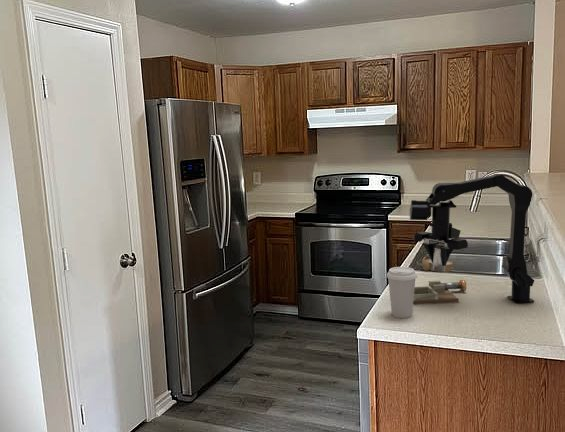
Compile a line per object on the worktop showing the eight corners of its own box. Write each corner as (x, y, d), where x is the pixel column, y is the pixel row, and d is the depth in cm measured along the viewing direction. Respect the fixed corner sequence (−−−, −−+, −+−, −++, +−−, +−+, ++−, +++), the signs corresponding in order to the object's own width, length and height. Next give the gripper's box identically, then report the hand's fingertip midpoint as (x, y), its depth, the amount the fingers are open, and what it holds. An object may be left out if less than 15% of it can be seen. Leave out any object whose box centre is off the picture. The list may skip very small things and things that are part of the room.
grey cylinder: (439, 272, 174) (440, 247, 173) (430, 269, 177) (431, 245, 176) (447, 270, 176) (448, 245, 175) (438, 268, 180) (438, 243, 178)
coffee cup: (381, 315, 166) (380, 270, 164) (397, 307, 173) (397, 264, 170) (406, 322, 159) (406, 275, 157) (422, 313, 166) (422, 269, 164)
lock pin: (466, 292, 184) (466, 281, 184) (441, 293, 184) (441, 282, 184) (462, 288, 188) (462, 278, 188) (437, 290, 188) (437, 279, 188)
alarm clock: (454, 266, 211) (417, 259, 214) (452, 277, 212) (415, 270, 215) (452, 259, 222) (417, 253, 225) (450, 270, 223) (415, 263, 226)
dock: (458, 302, 175) (458, 291, 175) (412, 304, 175) (412, 294, 175) (444, 289, 189) (444, 280, 189) (401, 292, 189) (401, 282, 189)
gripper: (479, 221, 171) (476, 266, 173) (434, 214, 186) (432, 256, 189) (457, 225, 165) (455, 271, 167) (413, 217, 180) (412, 260, 182)
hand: (439, 264), depth 177 cm, fingers closed on grey cylinder, 4 cm apart
